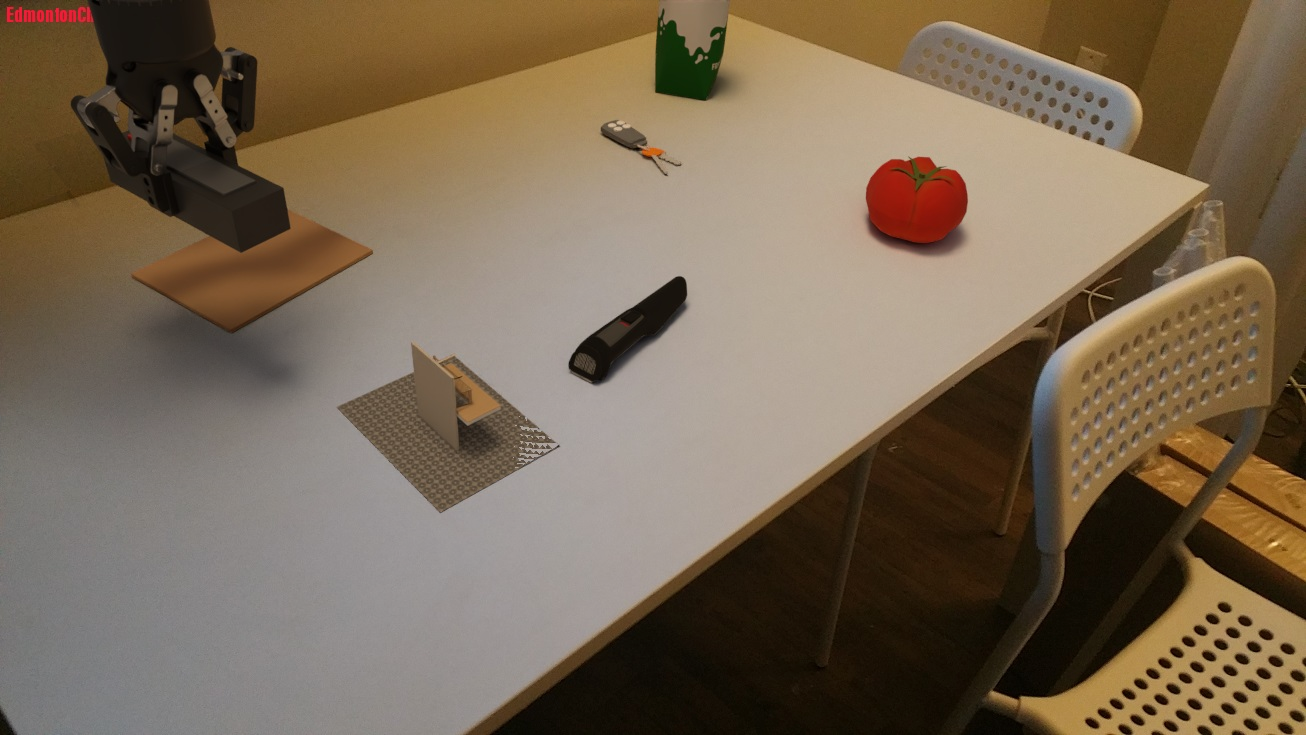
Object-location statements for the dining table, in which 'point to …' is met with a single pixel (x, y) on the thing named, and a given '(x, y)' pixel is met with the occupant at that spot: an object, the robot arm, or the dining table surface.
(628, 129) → the key chain
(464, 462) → the architectural model
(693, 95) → the milk carton
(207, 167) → the remote
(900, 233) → the tomato
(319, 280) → the cork mat
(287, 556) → the dining table surface
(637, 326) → the electric trimmer
